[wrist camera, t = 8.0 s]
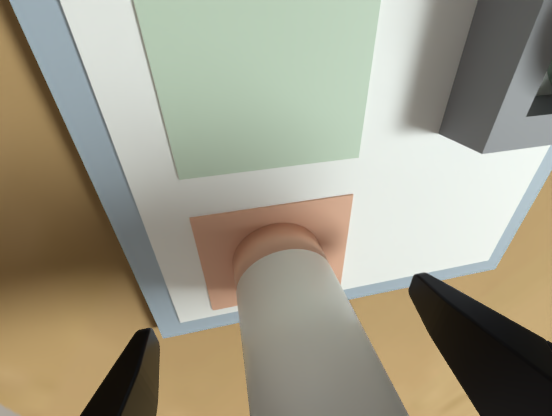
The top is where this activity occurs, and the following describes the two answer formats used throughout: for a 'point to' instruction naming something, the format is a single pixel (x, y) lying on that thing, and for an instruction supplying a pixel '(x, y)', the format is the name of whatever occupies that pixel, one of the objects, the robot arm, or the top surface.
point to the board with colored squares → (301, 133)
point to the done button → (550, 72)
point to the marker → (303, 332)
